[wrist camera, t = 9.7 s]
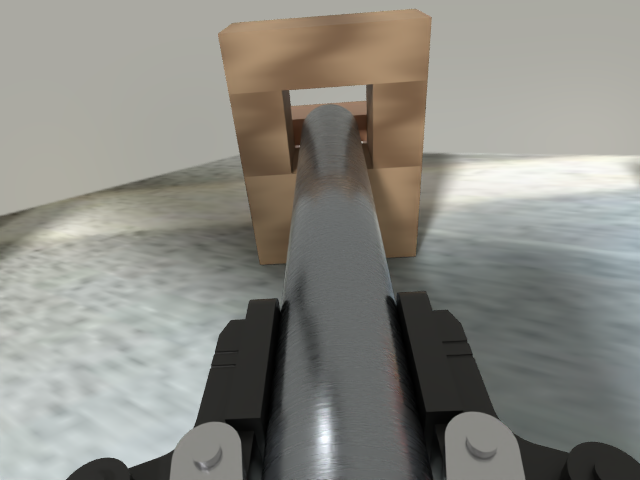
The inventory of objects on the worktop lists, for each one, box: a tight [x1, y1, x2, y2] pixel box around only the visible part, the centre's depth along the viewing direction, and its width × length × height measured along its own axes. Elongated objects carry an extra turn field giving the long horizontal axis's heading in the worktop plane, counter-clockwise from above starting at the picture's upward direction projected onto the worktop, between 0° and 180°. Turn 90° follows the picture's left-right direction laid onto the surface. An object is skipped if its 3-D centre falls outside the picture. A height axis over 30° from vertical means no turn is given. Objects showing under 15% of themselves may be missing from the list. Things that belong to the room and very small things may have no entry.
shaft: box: [261, 104, 433, 480], centre depth 15 cm, size 21×3×3 cm, turn 0°
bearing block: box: [218, 9, 431, 265], centre depth 25 cm, size 10×4×14 cm, turn 90°
